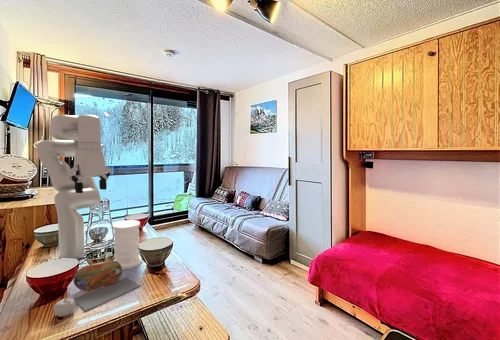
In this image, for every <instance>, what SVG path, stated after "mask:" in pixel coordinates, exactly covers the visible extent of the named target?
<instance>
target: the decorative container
mask: <svg viewBox="0 0 500 340" xmlns="http://www.w3.org/2000/svg"><path fill="white" fill-rule="evenodd" d="M139 227H141V222H140V221H139V220H135V219H134V220H133V219H132V220H131V219H130V220H129V219H128V220H122V221H118V222H114V223H113V224H112V230H114V231H113V237H114V239H113V244H114V247H113V250H114V255H113V257H114V260H113V261H117V262H118V263H119V264H120V265H121V267H122V270H129V269H132V268H136V267H137V266H139V265H141V264H142V261H143V260H142V259H141V258H142V257H141V256H140V254H139V251H140V250H139V251H138V246H139V244H140V235H139V234H140V229H139ZM139 247H140V246H139Z"/></svg>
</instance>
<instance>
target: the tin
mask: <svg viewBox="0 0 500 340" xmlns="http://www.w3.org/2000/svg"><path fill="white" fill-rule="evenodd" d="M122 274H123V269H122V267H121V265H120V264H119V263H118V262H117V261H114V260H105V261H101V262H95V263H92V264H87V265H84V266H81V268H79V269H78V271H77V272H76V273H75V275H74V277H73V283H74V284H73V285H74V286H75V288H77V289H79V290H80V291H89V290H90V291H91V290H95V289H98V288H100V287H103V286H106V285H110V284H113V283H115V282H116V281H118V280H120V278H121V277H122Z"/></svg>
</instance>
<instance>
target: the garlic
mask: <svg viewBox="0 0 500 340" xmlns="http://www.w3.org/2000/svg"><path fill="white" fill-rule="evenodd" d="M76 307H77V303H76V302H75V301H74V299H73V297H72V296H69V297H65V298H63V299H62V298H61V300H59V301H57V302H56V303H54V305H53V313H54V315H55V316H58V317H67V316H70V315H71V314H72V313H74V311H75V309H76Z"/></svg>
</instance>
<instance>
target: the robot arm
mask: <svg viewBox="0 0 500 340" xmlns="http://www.w3.org/2000/svg"><path fill="white" fill-rule="evenodd" d="M101 129H102V128H101V119H100V117H99V116H97V115H93V114H80V115H72V114H71V115H69V114H57V115H54V116H53V117H51V120H50V126H49V128H48V132H49V135H50V137H52V138H53V139H45V140H41V141H40V142H38V143H37V145H36V152H37V157H38V159H39V161H40V162H41V164H42V165H43V166H44V168H45V169H46V170H47V172H48V175H49V178H50V181H51V184H52V186H53V189H54V190H55V191H57V193H56V194H55V196H54V199H53V200H54V206H55V209H56V214H57V230H58V231H57V232H58V233H57V234H58V250H59V251H58V252H59V253H58V254H57V255H56V256H55V258H54V259H61V258H81V257H83V255H84V252H85V249H86V248H85V227H84V226H85V224H84V223H85V220H84V216H83V215H82V214H80V213H79V212H78V210H81V209H82V210H83V209H89V208H95V207H97V206H99V204H100V203H101V194H100V191H99V190H103V191H105V190H107V187H108V186H107V184H108V183H107V180H108V179H109V177H110V176H111V172H112V168H111V167H109V166H106V159H105V154H104V151H102V149H104V145H103V144H102V134H101V132H102V131H101ZM60 158H74V159H73V160H74V161H73V167H70V165H69V163H67V162H66V161H65V160H63V159H60ZM94 177H99V181H98V183H99V189H98V187H97V184H96V182H95V179H94Z"/></svg>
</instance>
